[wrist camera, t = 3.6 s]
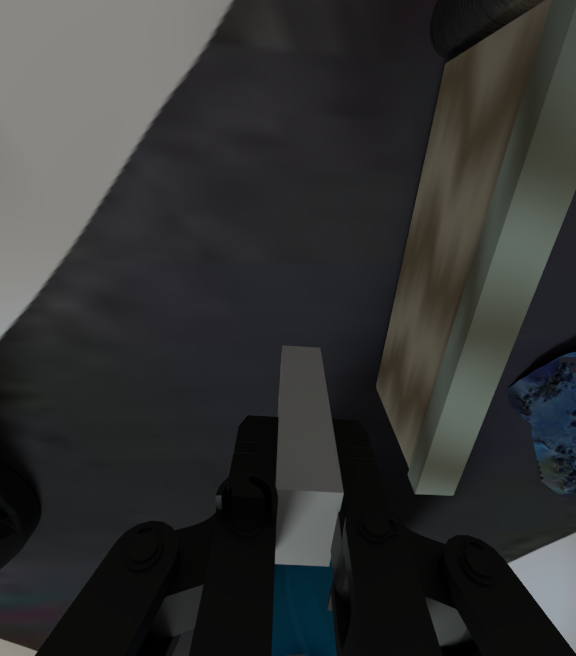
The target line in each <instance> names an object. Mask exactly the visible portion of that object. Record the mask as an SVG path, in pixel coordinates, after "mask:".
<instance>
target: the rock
mask: <svg viewBox="0 0 576 656" xmlns="http://www.w3.org/2000/svg"><path fill="white" fill-rule="evenodd" d="M575 356H576V352H572V353H569V354H566V355H564V356H561V357H575ZM559 358H560V357H559ZM559 358H556V359H555V360H553V361H551V362H550V363H548V364H546V365H544V366H542V367H540V368H538V369H536V370H535V371H532V372H531V373H530V374H529V375H528V376H526V377H524V378H523V379H520V380H519V381H517V382H516V383H515V384H514V385H512V386H510V387H508V399H509V402H510V404H511V406H512V407H513V408H514V410H515V411H516V412H517V413H518V414H519V415H520V416H522V417H523V418H524V419H525V420H527V421H528V422H530V423H531V424H532V438H533V443H534V447H535V450H536V455H537V458H536V460H538V461H539V462H538V465H539V466H540V467H541V468H540V471H541V472H542V474H540V476H541V477H543V478H544V479H542V480H541V481H542V482H543V483H544V484H545V485H547V486H548V487H549V488H551V489H552V490H553V491H555V492H556V493H558V494H559V495H561V496H565V497H571V498H576V372H575V373H573V374H572V375H571V374H569V368H568V367H567V366H565V365H564V364H561V363H560V362H558V359H559ZM573 365H574V363H572V364H570V366H569V367H571V366H573Z"/></svg>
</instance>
